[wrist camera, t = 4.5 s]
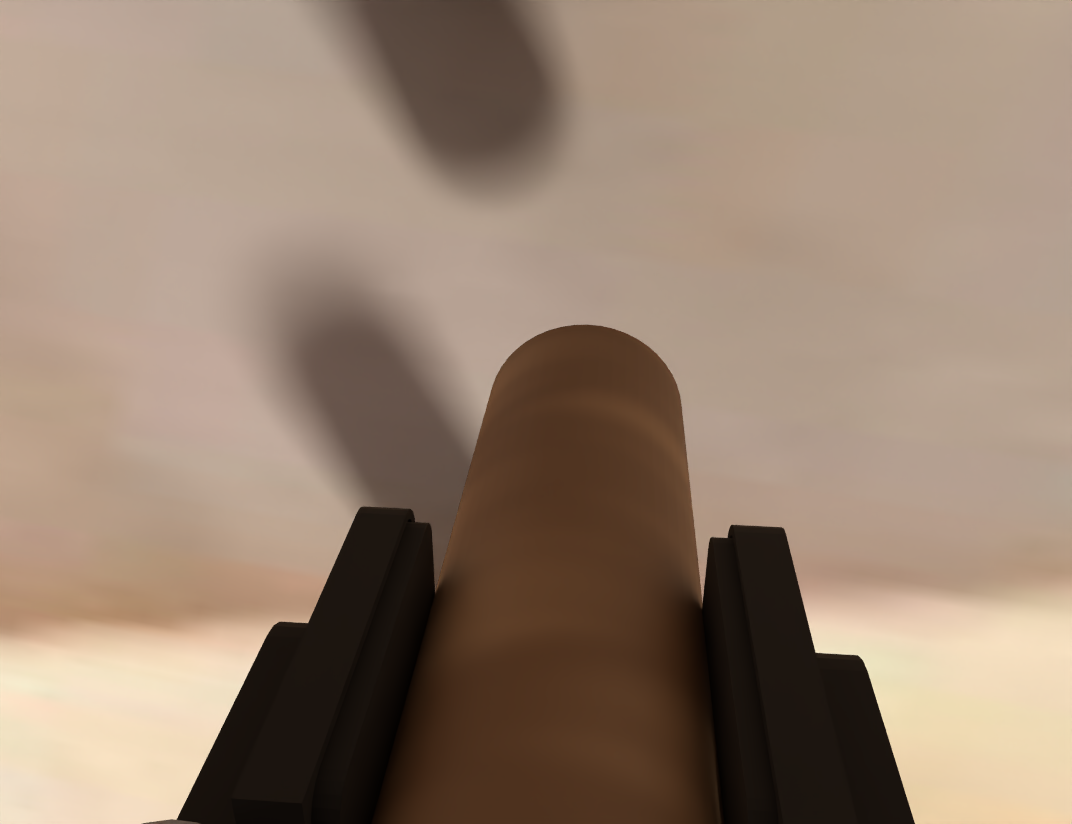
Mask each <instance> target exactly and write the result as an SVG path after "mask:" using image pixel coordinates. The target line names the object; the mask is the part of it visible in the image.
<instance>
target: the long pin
mask: <svg viewBox="0 0 1072 824" xmlns="http://www.w3.org/2000/svg"><path fill="white" fill-rule="evenodd" d="M702 606H703V604H702V594H701V585H700V575H699V566H698V557H697V547H696V538H695V529H694V519H693V510H692V500H691V491H690V482H689V472H688V463H687V453H686V444H685V435H684V425H683V416H682V406H681V399H680V394H679V391H678V387H677V384H676V382H675V380H674V378H673V375H672V373H671V372H670V370H669V369H668V367H667V366H666V364H665V363H664V362H663V361H662V359H661V358H660V357H659V356H658V355H657V354H656V353H655V352H654V351H653V350H652V349H650V348H649V347H648V346H647V345H645V344H644V343H642V342H641V341H639V340H638V339H636V338H634V337H632V336H630V335H628V334H626V333H624V332H621V331H618V330H615V329H612V328H607V327H603V326H595V325H571V326H565V327H560V328H556V329H552V330H549V331H546V332H544V333H542V334H539V335H537V336H535V337H534V338H532V339H530V340H528V341H527V342H525V343H524V344H523V345H521V346H520V347H519V348H518V349H516V350H515V351H514V352H513V353H512V354H511V355H510V356H509V358H508V359H507V360H506V362H505V363H504V364H503V366H502V367H501V369H500V371H499V372H498V374H497V376H496V378H495V381H494V384H493V387H492V390H491V393H490V397H489V401H488V404H487V408H486V411H485V415H484V419H483V422H482V426H481V429H480V433H479V437H478V440H477V444H476V447H475V451H474V454H473V458H472V462H471V465H470V469H469V472H468V476H467V480H466V483H465V487H464V490H463V494H462V498H461V501H460V505H459V508H458V512H457V516H456V519H455V523H454V526H453V530H452V534H451V537H450V541H449V544H448V548H447V552H446V555H445V559H444V562H443V566H442V569H441V573H440V577H439V580H438V584H437V587H436V591H435V596H434V599H433V603H432V606H431V610H430V614H429V617H428V621H427V624H426V628H425V632H424V635H423V639H422V642H421V646H420V650H419V653H418V657H417V660H416V664H415V668H414V671H413V675H412V678H411V682H410V686H409V689H408V693H407V696H406V700H405V704H404V707H403V711H402V714H401V718H400V722H399V725H398V729H397V732H396V736H395V740H394V743H393V747H392V750H391V754H390V758H389V761H388V765H387V768H386V772H385V776H384V779H383V783H382V786H381V790H380V794H379V797H378V801H377V804H376V808H375V812H374V815H373V819H372V822H371V824H724V814H723V805H722V795H721V786H720V776H719V766H718V757H717V747H716V738H715V728H714V719H713V709H712V699H711V690H710V680H709V671H708V661H707V651H706V642H705V632H704V623H703V613H702Z"/></svg>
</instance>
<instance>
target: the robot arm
mask: <svg viewBox="0 0 1072 824" xmlns="http://www.w3.org/2000/svg"><path fill="white" fill-rule="evenodd" d="M434 596H435V584H434V564H433V545H432V530H431V525H430V524H429V523H418V522H415V518H414V514H413V511H412V510H411V509H401V508H381V507H361V508H360V509H359V510H358V512H357V514H356V516H355V519H354V521H353V523H352V525H351V528H350V530H349V532H348V534H347V537H346V539H345V541H344V543H343V546H342V548H341V550H340V552H339V555H338V557H337V559H336V561H335V564H334V566H333V568H332V571H331V573H330V575H329V577H328V580H327V582H326V584H325V586H324V589H323V591H322V593H321V595H320V598H319V600H318V602H317V604H316V607H315V609H314V611H313V614H312V616H311V618H310V620H309V623H293V622H278V623H277V624H275V625H274V626H273V627H272V629H271V630H270V632H269V633H268V635H267V637H266V639H265V641H264V643H263V645H262V647H261V649H260V651H259V653H258V655H257V657H256V659H255V661H254V663H253V665H252V667H251V669H250V671H249V673H248V675H247V677H246V679H245V681H244V684H243V686H242V688H241V690H240V692H239V694H238V696H237V698H236V700H235V702H234V704H233V706H232V708H231V710H230V712H229V714H228V716H227V718H226V720H225V722H224V724H223V726H222V728H221V730H220V732H219V734H218V737H217V739H216V741H215V743H214V745H213V747H212V749H211V751H210V753H209V755H208V757H207V759H206V761H205V763H204V765H203V767H202V769H201V771H200V773H199V775H198V777H197V779H196V781H195V783H194V785H193V787H192V790H191V792H190V794H189V796H188V798H187V800H186V802H185V804H184V806H183V808H182V810H181V812H180V814H179V816H178V818H177V820H173V819H171V820H164V821H156V822H149V823H143V824H371V822H372V819H373V815H374V812H375V808H376V804H377V801H378V797H379V794H380V790H381V786H382V783H383V779H384V776H385V772H386V768H387V765H388V761H389V758H390V754H391V750H392V747H393V743H394V740H395V736H396V732H397V729H398V725H399V722H400V718H401V714H402V711H403V707H404V704H405V700H406V696H407V693H408V689H409V686H410V682H411V678H412V675H413V671H414V668H415V664H416V660H417V657H418V653H419V650H420V646H421V642H422V639H423V635H424V632H425V628H426V624H427V621H428V617H429V614H430V610H431V606H432V603H433V599H434ZM702 613H703V623H704V632H705V642H706V651H707V661H708V671H709V680H710V690H711V699H712V709H713V719H714V728H715V738H716V747H717V757H718V766H719V776H720V786H721V795H722V805H723V814H724V824H915V823H914V820H913V816H912V813H911V810H910V807H909V803H908V800H907V797H906V794H905V791H904V787H903V784H902V781H901V778H900V774H899V771H898V768H897V765H896V762H895V758H894V755H893V752H892V749H891V745H890V742H889V739H888V736H887V733H886V729H885V726H884V723H883V720H882V716H881V713H880V710H879V707H878V704H877V700H876V697H875V694H874V691H873V687H872V684H871V681H870V678H869V675H868V671H867V669H866V667H865V664H864V662H863V660H862V659H861V658H860V657H859V656H858V655H841V654H824V653H815V649H814V645H813V641H812V637H811V633H810V629H809V625H808V621H807V617H806V613H805V609H804V605H803V601H802V597H801V593H800V589H799V585H798V581H797V577H796V573H795V569H794V565H793V561H792V557H791V553H790V549H789V545H788V541H787V537H786V533H785V530H784V529H783V528H782V527H763V526H743V525H731V526H730V529H729V533H728V538H714V537H711V538H710V542H709V548H708V557H707V567H706V577H705V586H704V596H703V606H702Z"/></svg>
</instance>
